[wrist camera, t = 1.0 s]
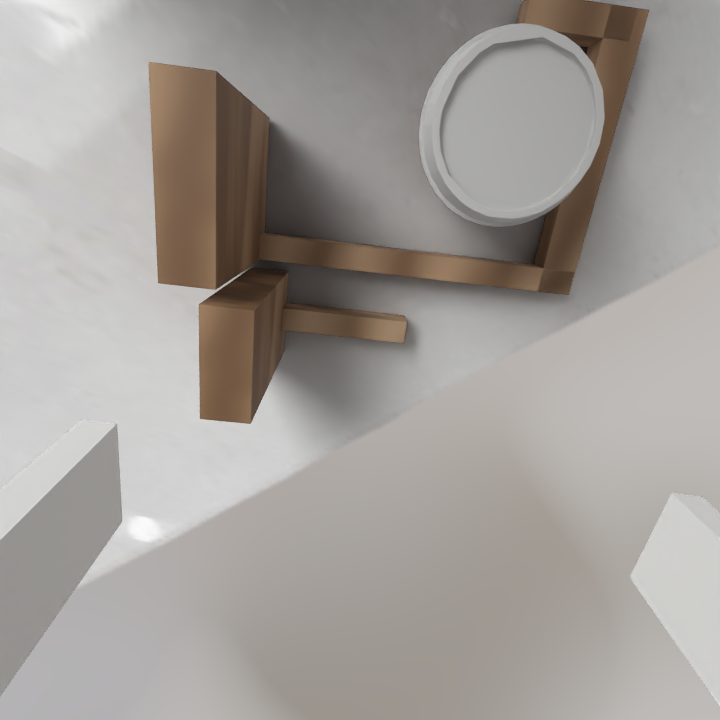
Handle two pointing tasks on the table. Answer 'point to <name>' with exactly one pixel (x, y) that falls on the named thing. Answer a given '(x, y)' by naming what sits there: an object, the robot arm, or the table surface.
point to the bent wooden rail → (250, 242)
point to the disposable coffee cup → (511, 124)
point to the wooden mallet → (265, 339)
